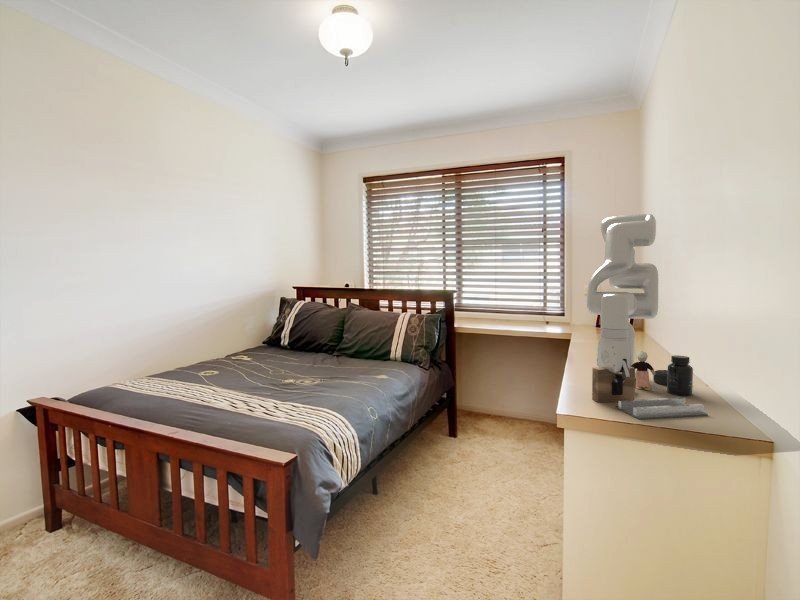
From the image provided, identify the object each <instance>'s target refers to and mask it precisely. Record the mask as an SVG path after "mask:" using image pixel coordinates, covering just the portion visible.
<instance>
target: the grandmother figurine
mask: <svg viewBox="0 0 800 600" xmlns="http://www.w3.org/2000/svg"><path fill="white" fill-rule="evenodd" d="M635 355H636V356H635V357H636V358H637V360H638V361H636V362H634V364H632V365H631V366H630V367H633V368H635V372H636V379H635V389H636V390H646V391H651V390H652V387H650V373H649V371H650V372H651V374H652V376H653V375H655V374H656V373H655V371H656V370H655V369H654V367H653V366H652V365H651V364H650V363H649V362H648V361H647V359H648V355H649V354H648V353H647V352H646V351H639V352H637V354H635ZM646 361H647V362H646Z"/></svg>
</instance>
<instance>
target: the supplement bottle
mask: <svg viewBox="0 0 800 600" xmlns="http://www.w3.org/2000/svg"><path fill="white" fill-rule="evenodd" d="M670 362H671V363H670V364H668V365H667V369H666V370H667V385H666V391H667V393H669V394H671V395H675V396H680V397H682V396H683V397H689V396H691V395H693V389H694V388H693V387H694V385H693V384H694V383H693V382H694V381H693V380H694V379H693V378H694V368H693V366H691V365H690V363H691V362H690V357H689V356H685V355H679V354H678V355H676V354H675V355H674V354H673V355H671V360H670Z"/></svg>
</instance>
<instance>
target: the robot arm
mask: <svg viewBox="0 0 800 600" xmlns="http://www.w3.org/2000/svg"><path fill="white" fill-rule="evenodd" d="M600 232H601V235H602V238H603V240H604V244H605V245H604V257H603V258H604V262H603V264H602V265H601V266H600V267H599V268H598V269H597V270H596V271H595V272H594V273H593V274H592V275H591V278H590V279H589V281H588V285H587V294H586V308H587V311H588V312H589V313H590V314H592V315H599V316H600V336H599V339H598V342H597V350H596V351H597V352H596V366H597V367H603V368H606V369H608V371H609V372H612V373H613V381H614V382H612V395H622V394H623V382H624V380H625V379H626V378H628V377H629V376H630V375H629V370H630V366H631V365H632V364H634V363H635V355H636V354H635V348H636V347H635V344H636V343H635V339H636V332H635V329H634V328H635V327H634V326H633V324H631V323H630V322H629V319H637V320H638V319H641V320H651V319H654V318H656V316H657V315H658V313H659V270H658V267H657V266H656V265H655V264H653V263H650V262H649V263H647V262H642V263H641V262H640V263H639V262H638V263H636V260H635V257H636V251H635V248H634V247H650V246H652V245H653V244H654V242H655V239H656V236H657V235H656V234H657V221H656V218H655V216H654V214H651V213H640V214H627V215H626V214H625V215H624V214H623V215H616V216H615V215H614V216H609V217H606V218H604V219H602V220H601V222H600ZM606 280H608V282H609V286H610V287H611V288H613V289H617V290H618V289H619V290H642V291H643V292H627V291H598V289H599V286H600V284H602V283H603V282H605V281H606ZM619 371H620V372H619ZM617 374H620V375H619V376H618V377H617ZM635 380H636V371H635Z"/></svg>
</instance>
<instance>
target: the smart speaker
mask: <svg viewBox="0 0 800 600" xmlns="http://www.w3.org/2000/svg"><path fill="white" fill-rule="evenodd" d="M654 371H655V373H656V374H655V375H653V374H652V377H653V381H654V382H655V383H656V384H659V385H664V386H667V369H658V370H654Z"/></svg>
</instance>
